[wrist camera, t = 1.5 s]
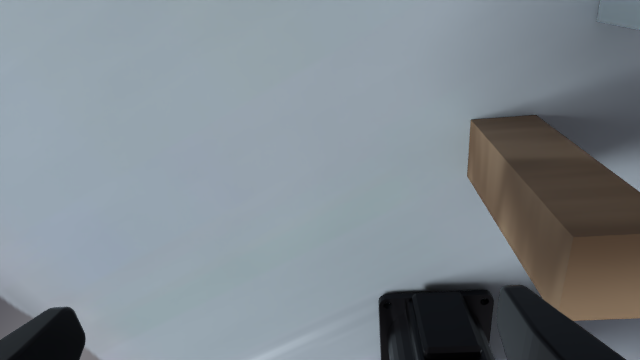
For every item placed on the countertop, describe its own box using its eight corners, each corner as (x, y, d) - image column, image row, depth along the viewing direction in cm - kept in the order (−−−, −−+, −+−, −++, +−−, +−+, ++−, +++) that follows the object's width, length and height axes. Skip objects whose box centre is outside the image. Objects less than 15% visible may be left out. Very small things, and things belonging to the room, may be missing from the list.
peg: (528, 172, 22) (663, 317, 13) (467, 176, 22) (556, 321, 13) (535, 115, 20) (692, 231, 11) (470, 119, 20) (573, 237, 12)
